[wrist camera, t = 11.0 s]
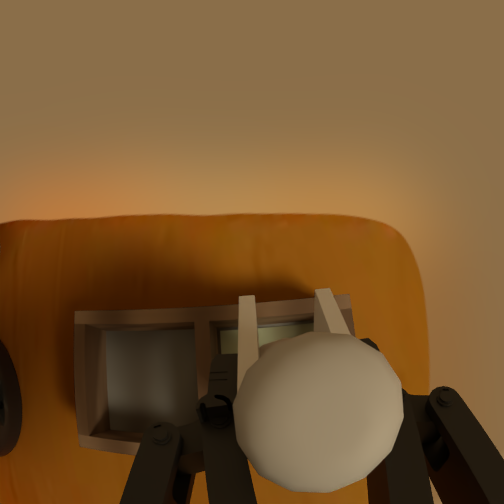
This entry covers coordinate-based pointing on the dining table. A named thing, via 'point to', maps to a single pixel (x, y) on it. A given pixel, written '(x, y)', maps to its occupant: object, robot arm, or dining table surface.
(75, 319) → the wooden compartment tray
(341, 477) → the salt shaker
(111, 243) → the dining table surface
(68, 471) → the dining table surface
